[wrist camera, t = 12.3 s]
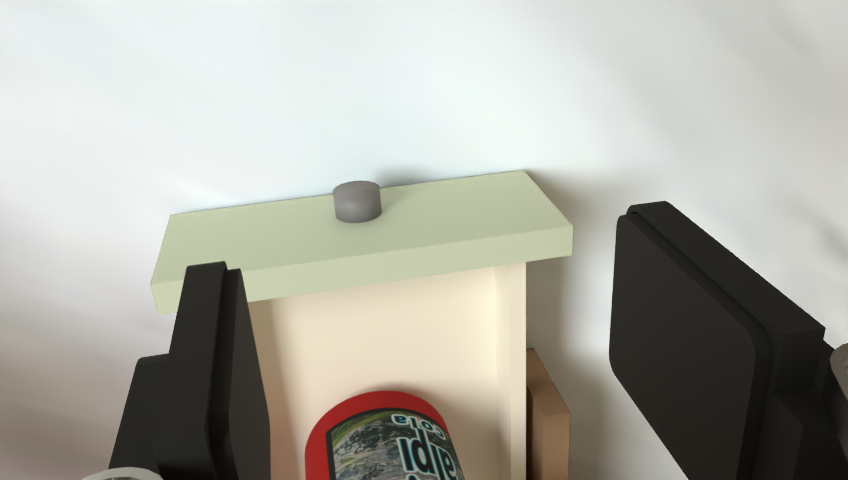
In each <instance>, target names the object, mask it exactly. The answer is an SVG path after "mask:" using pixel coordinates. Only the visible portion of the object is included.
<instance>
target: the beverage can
mask: <svg viewBox="0 0 848 480" xmlns="http://www.w3.org/2000/svg"><path fill="white" fill-rule="evenodd" d="M305 479H306V480H465V478H464V475H463V472H462V469H461V466H460V463H459V460H458V457H457V454H456V452H455V449H454V446H453V443H452V440H451V437H450V435H449V432H448V429H447V426H446V424H445V421H444V420H443V418H442V416H441V415H440V414H439V412H438V411H437V410H436V409H435V408H434V407H433V406H432V405H430V404H429V403H428V402H426V401H425V400H423V399H421V398H419V397H417V396H414V395H412V394H408V393H404V392H399V391H373V392H367V393H363V394H359V395H356V396H354V397H351V398H349V399H346V400H345V401H343V402H341V403H339V404H337V405H336V406H334V407H333V408H332V409H330V410H329V411H328V412H327V413H325V414H324V415H323V416H322V417H321V418H320V420H319V421H318V422H317V423H316V425H315V426H314V428H313V429H312V431H311V433H310V435H309V437H308V440H307V443H306V447H305Z"/></svg>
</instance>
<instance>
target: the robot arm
mask: <svg viewBox="0 0 848 480" xmlns="http://www.w3.org/2000/svg"><path fill="white" fill-rule="evenodd" d="M825 329H826V328H825V327H824V326H823V325H821V324H820V323H819V322H818V321H816V320H815V319H814V318H813V317H811V316H810V315H809V314H808V313H806V312H805V311H804V310H803V309H801V308H800V307H799V306H798V305H796V304H795V303H794V302H793V301H791V300H790V299H789V298H788V297H786V296H785V295H784V294H783V293H781V292H780V291H779V290H778V289H776V288H775V287H774V286H773V285H771V284H770V283H769V282H768V281H766V280H765V279H764V278H763V277H761V276H760V275H759V274H758V273H756V272H755V271H754V270H753V269H751V268H750V267H749V266H748V265H746V264H745V263H744V262H743V261H741V260H740V259H739V258H738V257H736V256H735V255H734V254H733V253H731V252H730V251H729V250H728V249H726V248H725V247H724V246H723V245H721V244H720V243H719V242H718V241H716V240H715V239H714V238H713V237H711V236H710V235H709V234H708V233H706V232H705V231H704V230H703V229H701V228H700V227H699V226H698V225H696V224H695V223H694V222H693V221H691V220H690V219H689V218H688V217H686V216H685V215H684V214H683V213H681V212H680V211H679V210H678V209H676V208H675V207H674V206H673V205H671V204H670V203H669V202H667V201H660V202H652V203H645V204H638V205H631V206H630V207H629V208H628V211H627V213H626V215H621V216H620V217H619V218H618V221H617V228H616V244H615V261H614V277H613V294H612V310H611V327H610V343H609V359H610V364H611V367H612V370H613V372H614V374H615V376H616V377H617V379H618V380H619V382H620V383H621V384H622V386H623V387H624V389H625V390H626V391H627V393H628V394H629V396H630V397H631V399H632V400H633V401H634V403H635V404H636V406H637V407H638V408H639V410H640V411H641V413H642V414H643V416H644V417H645V418H646V420H647V421H648V423H649V424H650V425H651V427H652V428H653V430H654V431H655V433H656V434H657V435H658V437H659V438H660V440H661V441H662V442H663V444H664V445H665V447H666V448H667V450H668V451H669V452H670V454H671V455H672V457H673V458H674V459H675V461H676V462H677V464H678V465H679V467H680V468H681V469H682V471H683V472H684V474H685V475H686V477H687V478H688V479H689V480H848V343H847V344H843V345H841V346H840V347H838V348H837V349H833V348H832V347H831V346H830V345H829V344H827V343H826V342H825V341H824V340H823V338H824V333H825ZM81 480H271V448H270V421H269V413H268V407H267V402H266V397H265V392H264V386H263V381H262V376H261V371H260V365H259V360H258V355H257V350H256V344H255V339H254V334H253V329H252V323H251V318H250V313H249V308H248V302H247V297H246V292H245V287H244V281H243V276H242V272H241V269H240V268H237V269H230V270H228V268H227V265H226V262H225V261H219V262H212V263H205V264H197V265H190V266H187V268H186V272H185V277H184V282H183V286H182V291H181V296H180V301H179V306H178V311H177V316H176V320H175V325H174V330H173V335H172V340H171V345H170V350H169V353H168V354H162V355H155V356H148V357H142V358H140V359H139V360H138V362H137V364H136V367H135V371H134V375H133V379H132V382H131V386H130V390H129V393H128V397H127V401H126V405H125V408H124V412H123V416H122V420H121V423H120V427H119V431H118V434H117V438H116V442H115V446H114V449H113V453H112V457H111V461H110V464H109V468H108V470H105V471H102V472H98V473H95V474H92V475H89V476H87V477H85V478H83V479H81Z"/></svg>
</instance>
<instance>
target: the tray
mask: <svg viewBox="0 0 848 480" xmlns="http://www.w3.org/2000/svg"><path fill="white" fill-rule="evenodd" d="M572 245H573V225H572V224H571V223H570V222H569V221H568V220H567V218H566V217H565V216H564V215H563V214H562V213H561V212H560V211H559V209H558V208H557V207H556V206H555V205H554V204H553V203H552V202H551V200H550V199H549V198H548V197H547V196H546V195H545V194H544V193H543V191H542V190H541V189H540V188H539V187H538V186H537V185H536V184H535V182H534V181H533V180H532V179H531V178H530V177H529V176H528V175H527V174H526V172H525V171H524V170H520V171H512V172H505V173H497V174H489V175H481V176H473V177H465V178H457V179H449V180H441V181H433V182H426V183H418V184H410V185H402V186H394V187H386V188H380V187H379V185H378V184H376V183H374V182H370V181H353V182H347V183H344V184H341V185H339V186H337V187H336V188H335V189H334V190H333V194H331V195H323V196H315V197H307V198H299V199H291V200H283V201H275V202H268V203H260V204H252V205H244V206H236V207H228V208H220V209H212V210H204V211H196V212H189V213H181V214H173V215H170V218H169V221H168V225H167V228H166V231H165V235H164V238H163V242H162V245H161V249H160V252H159V256H158V259H157V263H156V266H155V269H154V273H153V276H152V280H151V283H150V286H151V290H152V294H153V298H154V302H155V306H156V310H157V314H158V315H163V314H170V313H177V311H178V306H179V301H180V296H181V291H182V286H183V282H184V277H185V272H186V268H187V266H190V265H197V264H205V263H212V262H219V261H225V262H226V265H227V268H228V270H230V269H237V268H240V269H241V272H242V276H243V281H244V287H245V292H246V297H247V302H248V308H249V313H250V318H251V323H252V329H253V334H254V339H255V344H256V350H257V355H258V360H259V365H260V371H261V376H262V381H263V386H264V392H265V397H266V402H267V407H268V413H269V421H270V448H271V480H306V479H305V447H306V443H307V440H308V437H309V435H310V433H311V431H312V429H313V428H314V426H315V425H316V423H317V422H318V421H319V420H320V418H321V417H322V416H323V415H324V414H325V413H327V412H328V411H329V410H330V409H332V408H333V407H334V406H336V405H337V404H339V403H341V402H343V401H345V400H346V399H349V398H351V397H354V396H356V395H359V394H363V393H367V392H373V391H399V392H404V393H408V394H412V395H414V396H417V397H419V398H421V399H423V400H425V401H426V402H428V403H429V404H430V405H432V406H433V407H434V408H435V409H436V410H437V411H438V412H439V414H440V415H441V416H442V418H443V420H444V421H445V424H446V426H447V429H448V432H449V435H450V437H451V440H452V443H453V446H454V449H455V452H456V454H457V457H458V460H459V463H460V466H461V469H462V472H463V475H464V478H465V480H526V262H529V261H536V260H543V259H550V258H557V257H564V256H571V255H572Z"/></svg>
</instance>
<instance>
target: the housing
mask: <svg viewBox="0 0 848 480" xmlns="http://www.w3.org/2000/svg"><path fill="white" fill-rule="evenodd" d="M569 428H570V411H569V410H568V408H567V406H566V404H565V403H564V401H563V399H562V397H561V396H560V394H559V392H558V390H557V389H556V387H555V385H554V383H553V382H552V380H551V378H550V376H549V375H548V373H547V371H546V369H545V368H544V366H543V364H542V362H541V361H540V359H539V357H538V355H537V354H536V352H535V350H534V348H533V349H527V350H526V480H568V458H569Z"/></svg>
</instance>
